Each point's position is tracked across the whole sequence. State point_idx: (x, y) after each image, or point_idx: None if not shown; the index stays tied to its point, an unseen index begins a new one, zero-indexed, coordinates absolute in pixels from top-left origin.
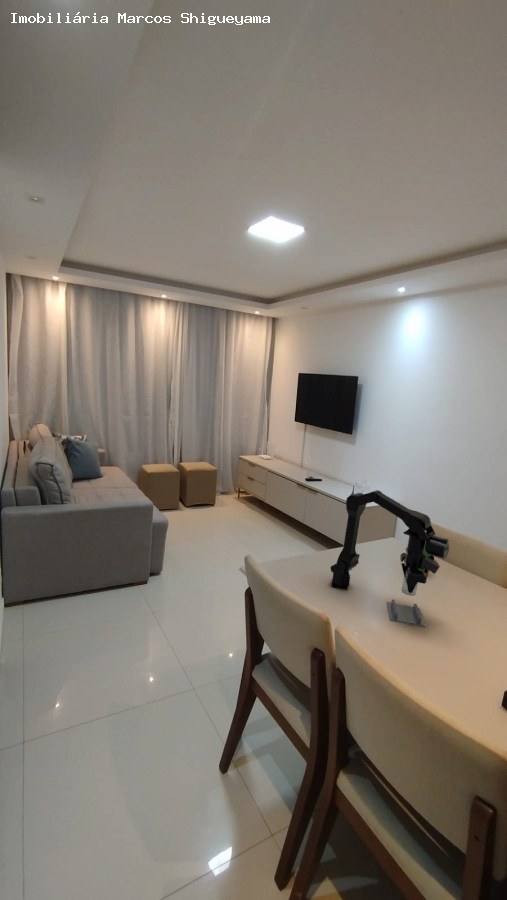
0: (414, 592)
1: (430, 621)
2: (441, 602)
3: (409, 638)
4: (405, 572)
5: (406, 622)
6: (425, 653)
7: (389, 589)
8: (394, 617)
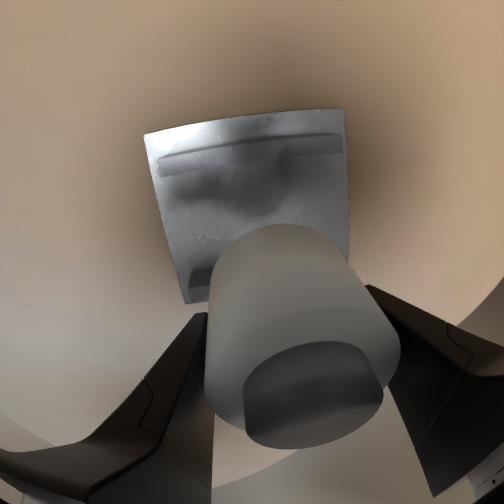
0: (342, 258)
1: (259, 71)
2: (21, 48)
3: (443, 196)
4: (204, 476)
5: (347, 205)
6: (493, 152)
7: (48, 289)
8: None
